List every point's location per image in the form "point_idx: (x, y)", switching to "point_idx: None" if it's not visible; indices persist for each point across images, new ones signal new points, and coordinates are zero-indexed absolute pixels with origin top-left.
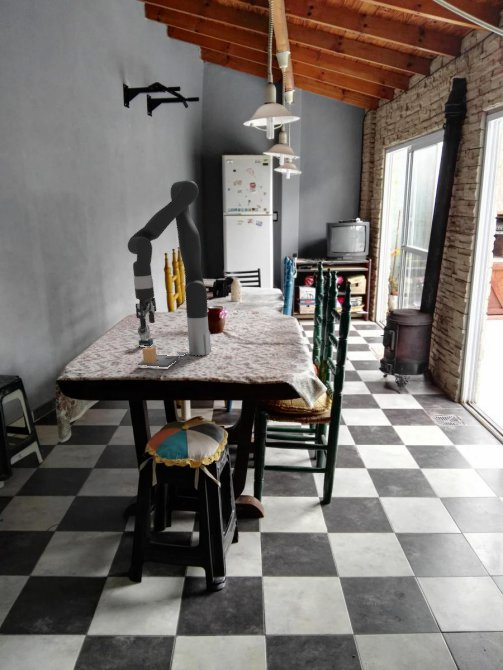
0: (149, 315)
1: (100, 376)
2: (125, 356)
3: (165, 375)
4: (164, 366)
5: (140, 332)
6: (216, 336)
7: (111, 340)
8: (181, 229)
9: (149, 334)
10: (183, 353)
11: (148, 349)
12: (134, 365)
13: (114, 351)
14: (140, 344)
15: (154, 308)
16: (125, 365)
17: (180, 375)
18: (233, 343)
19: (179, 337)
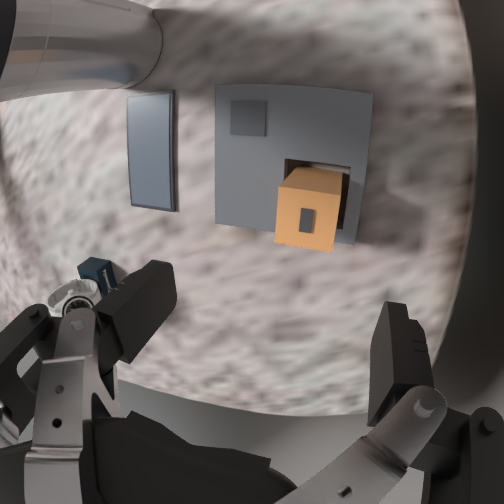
0: (133, 349)
1: (429, 338)
2: (207, 316)
3: (446, 88)
4: (372, 106)
5: None
6: (9, 105)
7: None
8: None
9: (68, 283)
10: (145, 102)
11: (337, 214)
12: (312, 261)
13: (171, 350)
14: None
15: (30, 341)
16: (312, 295)
17: (437, 26)
18: None
19: (29, 203)
